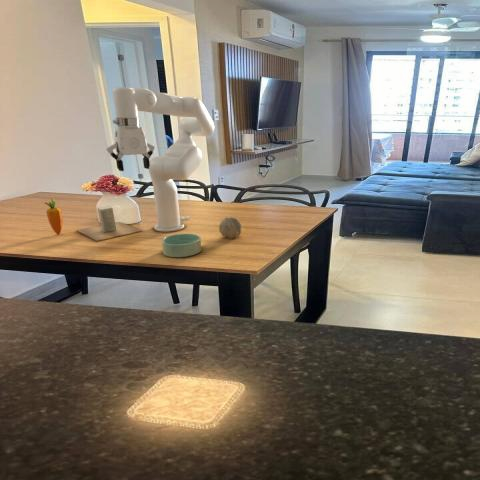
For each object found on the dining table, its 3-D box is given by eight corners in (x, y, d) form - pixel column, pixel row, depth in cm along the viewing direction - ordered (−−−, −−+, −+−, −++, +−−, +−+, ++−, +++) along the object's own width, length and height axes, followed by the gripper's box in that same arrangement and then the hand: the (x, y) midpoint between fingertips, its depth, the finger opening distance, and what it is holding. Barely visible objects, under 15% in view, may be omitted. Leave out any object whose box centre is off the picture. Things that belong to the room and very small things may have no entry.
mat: (119, 222, 177) (119, 221, 177) (141, 231, 165) (141, 230, 165) (77, 231, 164) (77, 230, 164) (97, 241, 152) (97, 240, 152)
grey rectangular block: (113, 228, 168) (110, 205, 164) (116, 230, 164) (113, 207, 161) (100, 230, 164) (97, 207, 161) (103, 232, 161) (99, 209, 158)
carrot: (58, 237, 156) (51, 201, 151) (48, 236, 157) (40, 200, 152) (68, 233, 160) (61, 198, 156) (58, 232, 161) (51, 197, 156)
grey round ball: (241, 242, 162) (248, 222, 158) (224, 243, 155) (231, 222, 152) (229, 231, 167) (235, 211, 163) (212, 232, 160) (218, 211, 157)
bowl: (188, 243, 152) (187, 231, 151) (208, 251, 144) (207, 238, 143) (155, 252, 142) (154, 239, 141) (176, 261, 134) (174, 247, 133)
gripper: (107, 123, 132) (114, 172, 138) (155, 123, 145) (160, 168, 150) (99, 122, 137) (106, 170, 143) (146, 122, 150) (151, 166, 155)
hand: (134, 169), depth 146 cm, fingers open, 9 cm apart
